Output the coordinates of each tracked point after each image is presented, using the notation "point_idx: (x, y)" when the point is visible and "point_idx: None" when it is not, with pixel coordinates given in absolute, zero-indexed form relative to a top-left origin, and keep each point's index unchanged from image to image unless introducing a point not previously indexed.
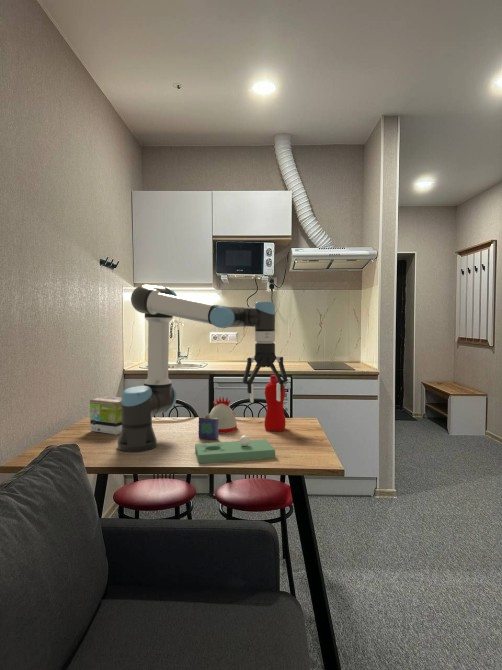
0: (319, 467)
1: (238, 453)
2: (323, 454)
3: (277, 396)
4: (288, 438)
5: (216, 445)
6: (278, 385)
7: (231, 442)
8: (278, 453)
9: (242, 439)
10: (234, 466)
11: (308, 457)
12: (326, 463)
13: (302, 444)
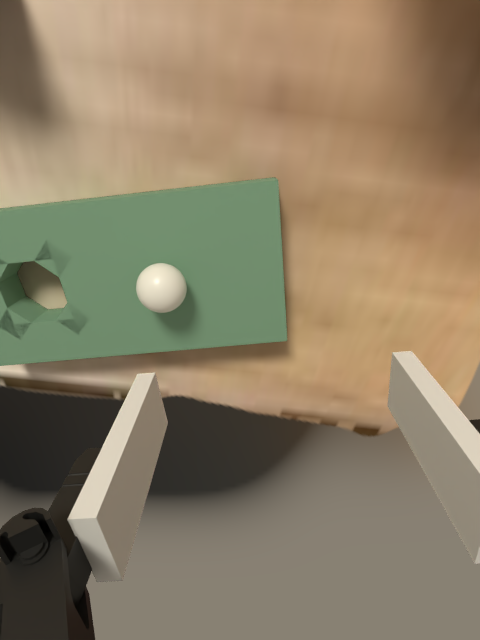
0: None
1: (143, 351)
2: (476, 310)
3: (405, 404)
4: (440, 13)
5: (39, 256)
6: (466, 545)
7: (102, 216)
8: (308, 278)
9: (149, 309)
10: None
11: (404, 335)
12: None
13: (462, 157)
